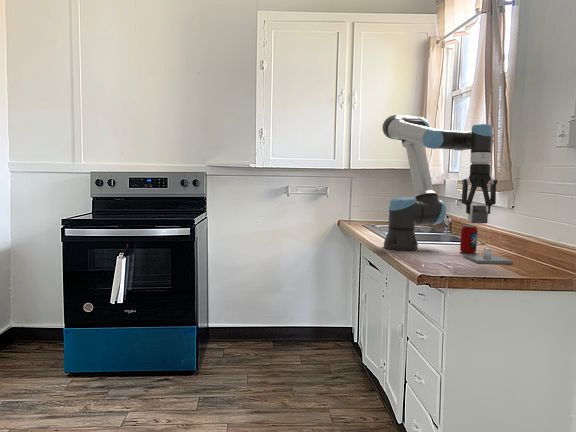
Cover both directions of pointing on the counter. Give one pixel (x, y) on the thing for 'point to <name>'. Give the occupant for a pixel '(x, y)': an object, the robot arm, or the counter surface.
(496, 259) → the hub
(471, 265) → the counter surface
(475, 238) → the beverage can
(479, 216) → the knob
